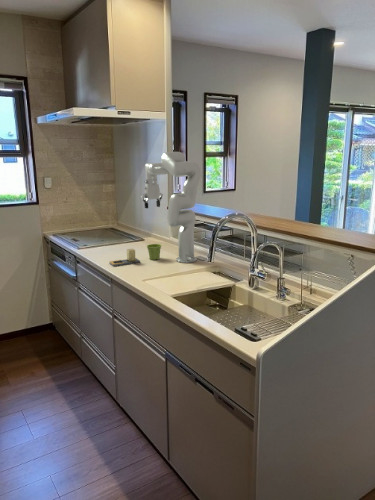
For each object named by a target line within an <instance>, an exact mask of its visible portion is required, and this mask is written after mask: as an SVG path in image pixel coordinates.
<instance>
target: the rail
mask: <svg viewBox="0 0 375 500" xmlns="http://www.w3.org/2000/svg"><path fill="white" fill-rule="evenodd" d="M135 258H136V261H132V262H128V261H127V258H126V259H119V260H118V259H117V260H111V261H109V264H110V265H111V266H112V267H113V266H114V267H118V266H117V265H120V266H126V265H125V264H127V265H134V264H140V263H141V260H140V259H138V258H137V257H135ZM119 262H121V263H119ZM133 263H134V264H133Z"/></svg>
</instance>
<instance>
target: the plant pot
mask: <svg viewBox="0 0 375 500" xmlns="http://www.w3.org/2000/svg"><path fill="white" fill-rule="evenodd" d="M146 248H147V252H148V255H149V260H150V261H155V260H160V256H161V249H162V244H160V243H152V244H151V243H149V244H147V245H146Z"/></svg>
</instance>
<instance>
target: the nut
mask: <svg viewBox="0 0 375 500" xmlns="http://www.w3.org/2000/svg"><path fill="white" fill-rule="evenodd" d="M136 258H137V257H136V250H135V249H134V248H126V259H127V261H128V262H132V261H136Z"/></svg>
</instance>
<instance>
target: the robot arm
mask: <svg viewBox="0 0 375 500" xmlns="http://www.w3.org/2000/svg"><path fill="white" fill-rule="evenodd" d="M160 158H161V159H160V161H161V162H150V163H148V162H147V163H145V165H144V168H145V169H144V170H145V181H144V183H145V184H144V194H142V195H140V198H141V200H142V201H143V203H144V209H149V200H150V201H151V200H156V207H157V208H160V207H161V200H162V199H163V195H164V194H163V193H161V191H160V186H159V185H160V184H159V183H158V176H160V175H162V176H163V175H169V174H170V175H171V176H173V177H175V178H180V177H183V178H184V177H188V178H186V180H185V181H184V183H183V186H182V191H181V192H180V193H179V192H178V193H177V192H176V193H173V194H172V195H171V196H170V198H169V201H168V207H167V208H168V209H167V215H166V220H167V224H168V226H170V228H171V227H172V228H175V227H176V228H177V227H179V229H178V234H177V235H178V237H177V238H178V239H177V240H178V256H177V258H176V260H175V261H177V262H178V263H181V264H182V263H183V264H188V263H194V262H196V261H197V257H196V256H195V223H196V213H195V212H194V210H191V209H193V208H194V207H195V205H196V201H197V194H198V190H199V184H200V181H201V178H202V168H201V166H200V164H199V163H198V162H197V161H191V160H189V161H188V160H186V155H185V154H184V153H183V152H180V151H166V152H164V153H163V154H162V155H161V157H160Z"/></svg>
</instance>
